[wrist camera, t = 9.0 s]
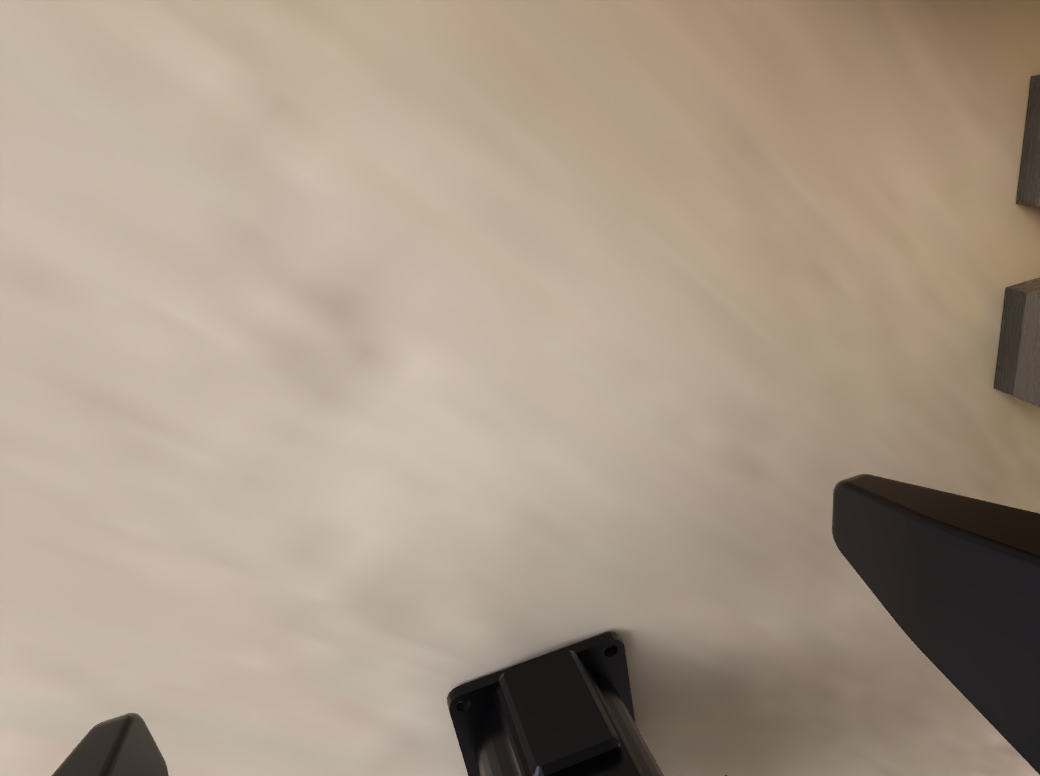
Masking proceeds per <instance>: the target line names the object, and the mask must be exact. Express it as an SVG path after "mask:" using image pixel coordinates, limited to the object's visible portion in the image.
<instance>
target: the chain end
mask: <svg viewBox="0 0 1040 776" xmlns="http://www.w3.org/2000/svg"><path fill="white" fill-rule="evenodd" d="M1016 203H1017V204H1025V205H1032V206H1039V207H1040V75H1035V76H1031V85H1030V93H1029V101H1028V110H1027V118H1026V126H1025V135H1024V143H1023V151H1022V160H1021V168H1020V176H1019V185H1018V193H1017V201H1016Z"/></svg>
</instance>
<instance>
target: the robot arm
mask: <svg viewBox="0 0 1040 776" xmlns="http://www.w3.org/2000/svg"><path fill="white" fill-rule="evenodd" d="M832 533H833V538H834V541H835V543H836V545H837V547H838V549H839V550H840V551H841V553H842V554H843V555H844V557H845V558H846V559H847V560H848V562H849V563H850V564H851V565H852V567H853V568H854V569H855V570H856V572H857V573H858V574H859V575H860V577H861V578H862V579H863V581H864V582H865V583H866V584H867V586H868V587H869V588H870V589H871V591H872V592H873V593H874V594H875V596H876V597H877V598H878V599H879V601H880V602H881V603H882V605H883V606H884V607H885V608H886V610H887V611H888V612H889V613H890V615H891V616H892V617H893V618H894V620H895V621H896V622H897V624H898V625H899V626H900V627H901V628H902V629H903V631H904V632H905V633H906V634H907V635H908V637H909V638H910V639H911V640H912V641H913V642H914V643H915V644H916V646H917V647H918V648H919V649H920V650H921V651H922V652H923V653H924V654H925V655H926V656H927V657H928V658H929V659H930V661H931V662H932V663H933V664H934V665H935V666H936V667H937V668H938V669H939V670H940V671H941V672H942V673H943V674H944V675H945V676H946V677H947V678H948V679H949V680H950V681H951V682H952V684H953V685H954V686H955V687H956V688H957V689H958V690H959V691H960V692H961V693H962V694H963V695H964V696H965V697H966V698H967V699H968V700H969V701H970V702H971V703H972V704H973V705H974V707H975V708H976V709H977V710H978V711H979V712H980V713H981V714H982V715H983V716H984V717H985V718H986V719H987V720H988V721H989V722H990V723H991V724H992V725H993V726H994V727H995V728H996V730H997V731H998V732H999V733H1000V734H1001V735H1002V736H1003V737H1004V738H1005V739H1006V740H1007V741H1008V742H1009V743H1010V744H1011V745H1012V746H1013V747H1014V748H1015V749H1016V750H1017V751H1018V753H1019V754H1020V755H1021V756H1022V757H1023V758H1024V759H1025V760H1026V761H1027V762H1028V763H1029V764H1030V765H1031V766H1032V767H1033V768H1034V769H1035V770H1036V771H1037V772H1038V773H1039V774H1040V514H1039V513H1034V512H1030V511H1026V510H1021V509H1017V508H1013V507H1008V506H1004V505H1000V504H995V503H991V502H987V501H982V500H978V499H973V498H969V497H965V496H960V495H956V494H952V493H947V492H943V491H939V490H934V489H930V488H926V487H921V486H917V485H912V484H908V483H904V482H899V481H895V480H891V479H886V478H882V477H878V476H873V475H869V474H861V475H857V476H854V477H851V478H848V479H845V480H842V481H840V482H838V483H837V484H836V486H835V488H834V492H833V518H832ZM611 645H612V646H611ZM609 646H611V647H610V648H608V649H606V648H607V647H609ZM461 700H465V701H464V702H461V703H458V702H460V701H461ZM447 703H448V707H449V711H450V715H451V718H452V721H453V725H454V728H455V731H456V735H457V738H458V742H459V745H460V748H461V752H462V755H463V758H464V762H465V765H466V769H467V772H468V775H469V776H664V775H663V773H662V772H661V770H660V768H659V766H658V764H657V763H656V761H655V759H654V757H653V755H652V753H651V752H650V750H649V748H648V746H647V744H646V743H645V741H644V739H643V737H642V735H641V734H640V732H639V730H638V728H637V726H636V724H635V718H634V711H633V705H632V698H631V691H630V684H629V677H628V670H627V663H626V656H625V649H624V645H623V643H622V641H621V639H620V638H619V636H618V635H617V634H616V633H613V632H608V633H604V634H601V635H599V636H596V637H593V638H590V639H588V640H585V641H582V642H579V643H577V644H574V645H571V646H568V647H566V648H563V649H560V650H557V651H555V652H552V653H549V654H546V655H543V656H541V657H538V658H535V659H532V660H530V661H527V662H524V663H521V664H519V665H516V666H513V667H510V668H508V669H505V670H502V671H499V672H497V673H494V674H491V675H488V676H486V677H483V678H480V679H477V680H475V681H472V682H469V683H466V684H464V685H461V686H458V687H456V688H454V689H453V690H452V691H451V692H450V693H449V694H448V697H447ZM52 776H168V770H167V766H166V763H165V760H164V758H163V756H162V754H161V752H160V750H159V749H158V747H157V745H156V743H155V741H154V739H153V737H152V735H151V733H150V731H149V730H148V728H147V726H146V724H145V722H144V720H143V719H142V718H141V717H140V716H139V715H138V714H135V713H128V714H125V715H122V716H119V717H116V718H113V719H110V720H107V721H104V722H101V723H99V724H97V725H96V726H94V727H93V728H92V729H91V730H90V731H89V732H88V734H87V735H86V736H85V737H84V738H83V739H82V741H81V742H80V743H79V744H78V745H77V747H76V748H75V749H74V750H73V751H72V752H71V754H70V755H69V756H68V757H67V758H66V759H65V761H64V762H63V763H62V764H61V765H60V767H59V768H58V769H57V770H56V771H55V772H54V774H53V775H52ZM725 776H726V775H725Z"/></svg>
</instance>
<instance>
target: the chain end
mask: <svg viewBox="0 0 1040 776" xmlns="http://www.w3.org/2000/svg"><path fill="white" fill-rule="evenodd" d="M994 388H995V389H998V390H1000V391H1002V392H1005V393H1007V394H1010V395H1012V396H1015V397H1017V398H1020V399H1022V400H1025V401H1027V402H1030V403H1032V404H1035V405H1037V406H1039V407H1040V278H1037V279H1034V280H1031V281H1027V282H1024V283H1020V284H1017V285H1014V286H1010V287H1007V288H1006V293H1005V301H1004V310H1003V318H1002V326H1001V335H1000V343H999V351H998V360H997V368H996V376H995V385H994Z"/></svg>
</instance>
